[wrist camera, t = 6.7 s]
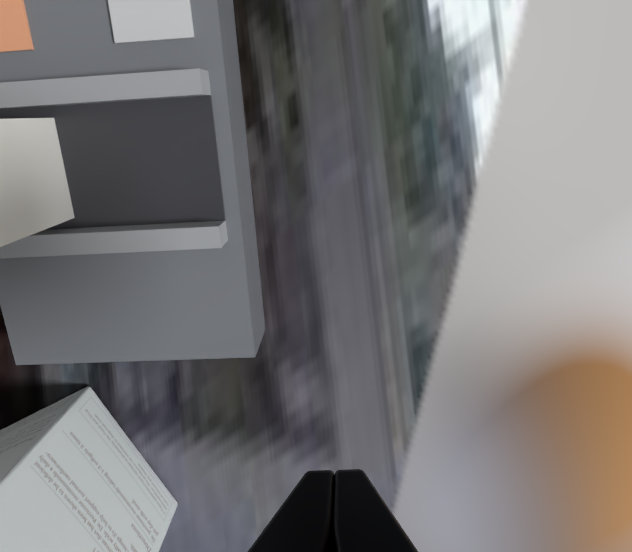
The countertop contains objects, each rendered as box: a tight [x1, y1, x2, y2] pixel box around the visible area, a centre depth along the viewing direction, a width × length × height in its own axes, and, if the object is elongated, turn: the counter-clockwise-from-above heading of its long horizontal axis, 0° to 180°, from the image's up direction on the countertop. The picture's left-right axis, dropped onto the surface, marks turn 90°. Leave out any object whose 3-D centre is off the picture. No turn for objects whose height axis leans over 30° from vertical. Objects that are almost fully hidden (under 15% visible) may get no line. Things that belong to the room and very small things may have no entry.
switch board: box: [0, 0, 265, 365], centre depth 17 cm, size 14×9×4 cm, turn 3°
